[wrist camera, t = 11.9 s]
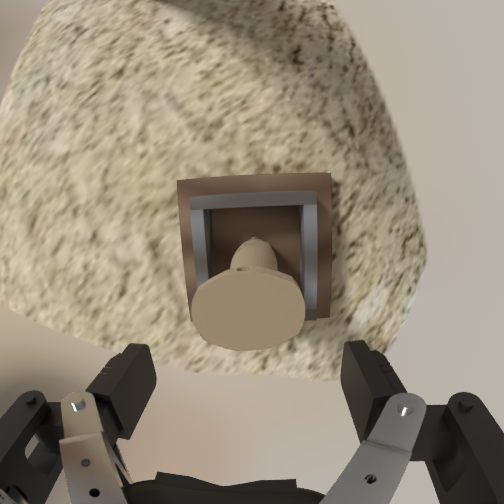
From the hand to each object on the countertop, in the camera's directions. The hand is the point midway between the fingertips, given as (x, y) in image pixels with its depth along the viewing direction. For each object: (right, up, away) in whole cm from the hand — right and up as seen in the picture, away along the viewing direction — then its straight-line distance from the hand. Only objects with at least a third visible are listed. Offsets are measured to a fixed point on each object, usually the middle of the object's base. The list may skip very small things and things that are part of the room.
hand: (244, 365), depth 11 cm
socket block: (+1, +5, +21) cm, 22 cm away
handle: (+1, +5, +20) cm, 20 cm away
